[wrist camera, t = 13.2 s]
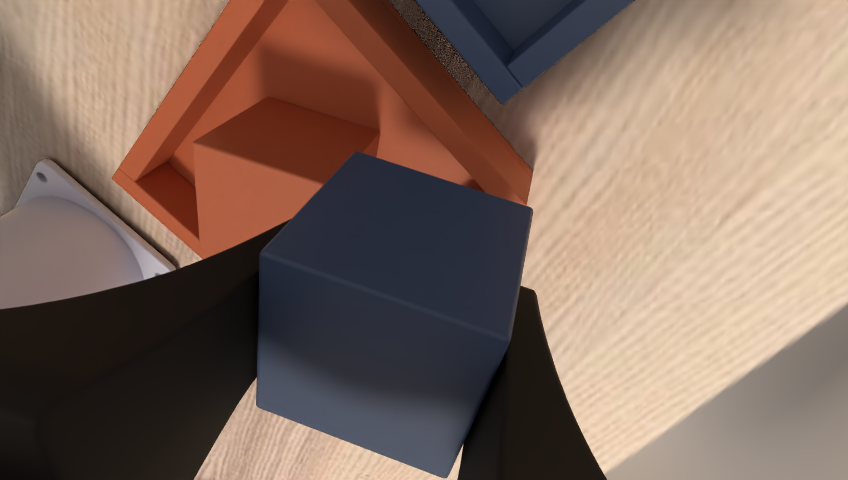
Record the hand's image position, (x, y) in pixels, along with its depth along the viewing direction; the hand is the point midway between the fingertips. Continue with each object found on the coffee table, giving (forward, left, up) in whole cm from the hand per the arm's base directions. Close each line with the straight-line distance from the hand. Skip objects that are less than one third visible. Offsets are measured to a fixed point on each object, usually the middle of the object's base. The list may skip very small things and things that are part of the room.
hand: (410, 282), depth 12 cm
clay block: (-5, +3, -7) cm, 9 cm away
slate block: (0, 0, -1) cm, 1 cm away
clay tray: (-5, +3, -8) cm, 10 cm away
